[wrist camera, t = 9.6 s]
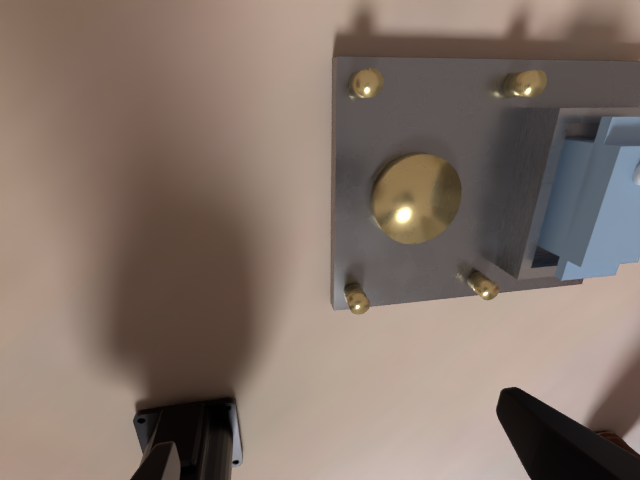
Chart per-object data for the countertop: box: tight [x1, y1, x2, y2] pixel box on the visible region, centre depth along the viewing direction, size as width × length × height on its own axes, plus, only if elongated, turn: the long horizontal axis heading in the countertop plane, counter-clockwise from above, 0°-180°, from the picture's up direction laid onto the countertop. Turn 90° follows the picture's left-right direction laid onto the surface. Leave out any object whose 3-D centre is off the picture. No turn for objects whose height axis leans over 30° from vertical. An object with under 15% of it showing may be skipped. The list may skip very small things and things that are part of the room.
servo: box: [537, 116, 640, 281], centre depth 18 cm, size 8×4×5 cm, turn 0°
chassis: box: [331, 56, 640, 314], centre depth 19 cm, size 14×18×3 cm
